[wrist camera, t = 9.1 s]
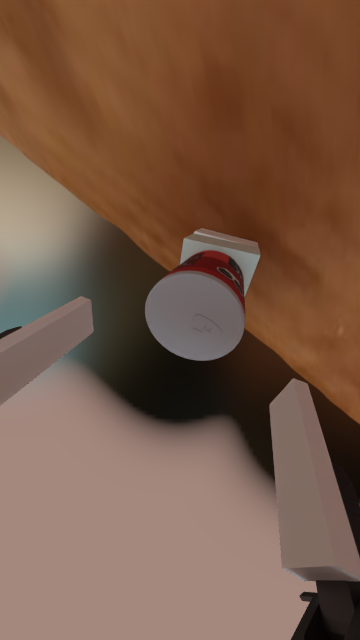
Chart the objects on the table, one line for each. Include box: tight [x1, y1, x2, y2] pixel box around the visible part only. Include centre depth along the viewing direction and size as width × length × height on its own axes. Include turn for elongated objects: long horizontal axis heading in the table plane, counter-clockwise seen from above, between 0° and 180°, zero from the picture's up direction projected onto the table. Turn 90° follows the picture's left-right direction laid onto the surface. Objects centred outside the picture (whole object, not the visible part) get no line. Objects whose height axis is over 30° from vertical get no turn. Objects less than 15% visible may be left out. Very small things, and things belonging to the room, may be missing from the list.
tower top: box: [180, 233, 260, 297], centre depth 26 cm, size 9×9×5 cm
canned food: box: [145, 250, 245, 361], centre depth 19 cm, size 8×8×11 cm
